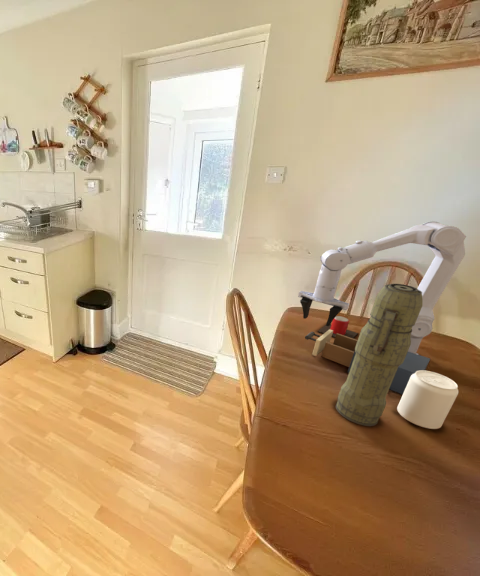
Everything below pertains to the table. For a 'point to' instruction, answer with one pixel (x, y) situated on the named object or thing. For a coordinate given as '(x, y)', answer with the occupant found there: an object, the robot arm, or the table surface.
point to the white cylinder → (427, 399)
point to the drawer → (334, 347)
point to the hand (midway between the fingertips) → (316, 321)
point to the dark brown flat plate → (326, 328)
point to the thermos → (379, 353)
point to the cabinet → (405, 370)
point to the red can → (339, 325)
